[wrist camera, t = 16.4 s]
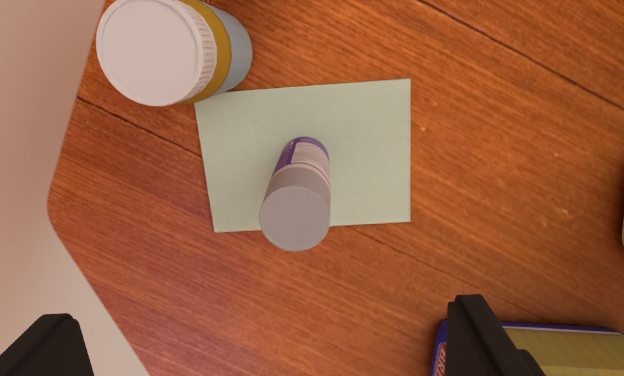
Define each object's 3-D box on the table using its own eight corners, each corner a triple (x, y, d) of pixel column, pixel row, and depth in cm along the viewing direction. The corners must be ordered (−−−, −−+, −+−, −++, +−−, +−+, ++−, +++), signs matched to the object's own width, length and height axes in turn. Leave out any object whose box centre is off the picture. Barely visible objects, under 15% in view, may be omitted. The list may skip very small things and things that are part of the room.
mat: (215, 231, 43) (214, 232, 43) (193, 94, 39) (192, 94, 38) (409, 220, 42) (410, 221, 42) (409, 78, 38) (410, 78, 37)
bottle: (258, 88, 38) (219, 110, 24) (183, 93, 39) (102, 117, 24) (249, 7, 36) (202, -22, 22) (171, 12, 37) (74, -13, 22)
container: (291, 189, 41) (274, 263, 27) (273, 146, 40) (244, 199, 25) (336, 173, 40) (343, 239, 26) (318, 128, 39) (315, 172, 25)
